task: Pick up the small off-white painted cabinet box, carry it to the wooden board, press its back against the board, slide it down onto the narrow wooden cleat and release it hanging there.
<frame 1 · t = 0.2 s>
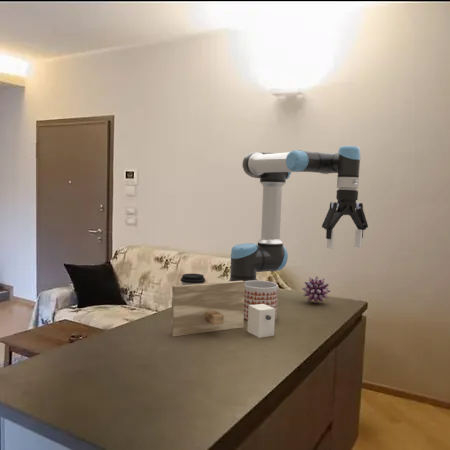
hand: (344, 247, 167), 28 cm above the kitchen island, fingers open, 13 cm apart
coffee cup: (191, 315, 172), on the kitchen island
wooden board: (208, 330, 153), on the kitchen island
planter: (258, 317, 172), on the kitchen island
purple spiky ball: (315, 303, 197), on the kitchen island
cabinet: (260, 333, 152), on the kitchen island
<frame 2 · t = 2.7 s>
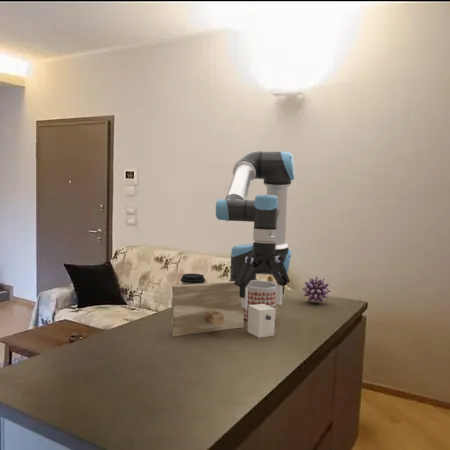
hand: (261, 305, 151), 9 cm above the kitchen island, fingers open, 13 cm apart
nothing on the kitchen island moved.
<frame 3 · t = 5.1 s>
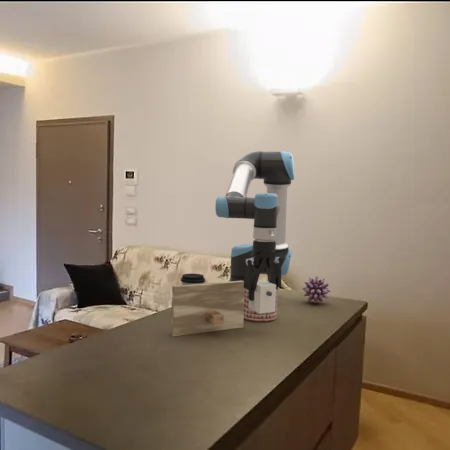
hand: (261, 308, 152), 8 cm above the kitchen island, fingers closed on cabinet, 6 cm apart
cabinet: (261, 309, 152), point 8 cm above the kitchen island, touching gripper
everything else where it was.
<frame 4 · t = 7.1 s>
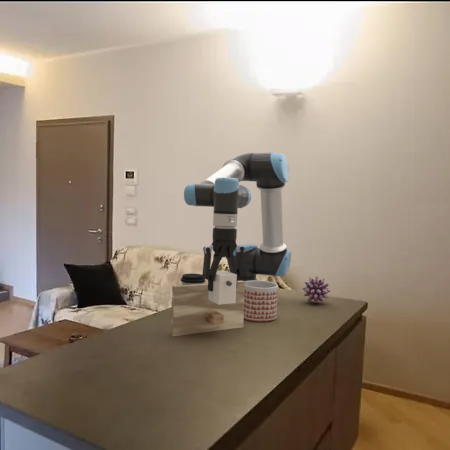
hand: (222, 300, 144), 13 cm above the kitchen island, fingers closed on cabinet, 6 cm apart
cabinet: (221, 301, 144), point 12 cm above the kitchen island, touching gripper
everything else where it was.
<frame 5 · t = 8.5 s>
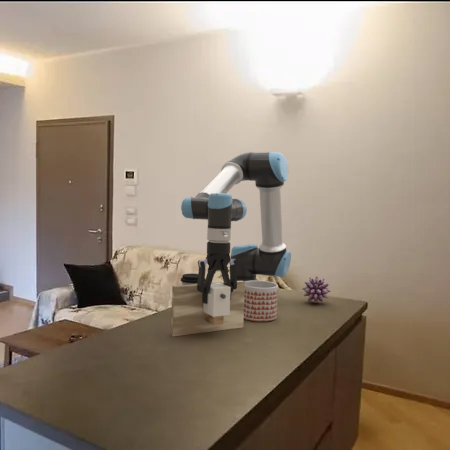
hand: (216, 311, 148), 8 cm above the kitchen island, fingers closed on cabinet, 6 cm apart
cabinet: (216, 312, 148), point 7 cm above the kitchen island, touching gripper
everything else where it was.
when the fingers open (7 cm above the kitchen island, at t = 9.1 s): cabinet stays where it is, resting on wooden board.
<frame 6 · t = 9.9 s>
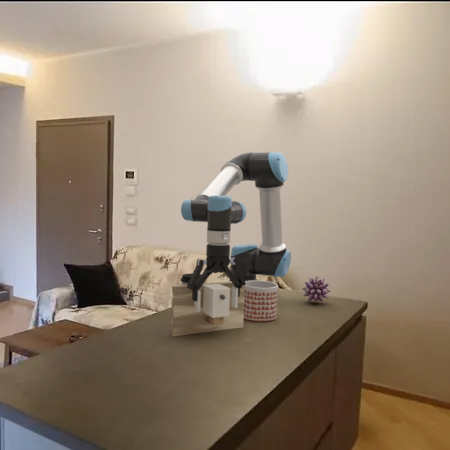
hand: (216, 308, 148), 9 cm above the kitchen island, fingers open, 13 cm apart
cabinet: (215, 314, 148), point 7 cm above the kitchen island, touching wooden board
everything else where it was.
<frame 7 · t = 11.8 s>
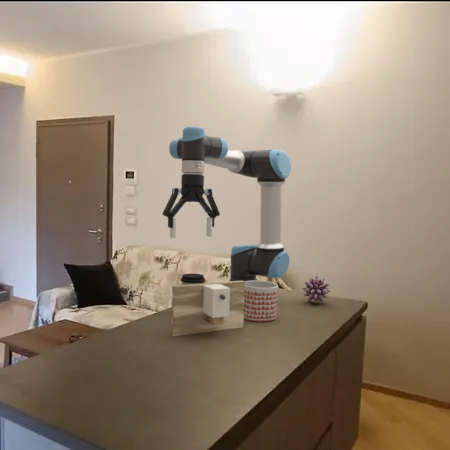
hand: (191, 237, 155), 31 cm above the kitchen island, fingers open, 13 cm apart
nothing on the kitchen island moved.
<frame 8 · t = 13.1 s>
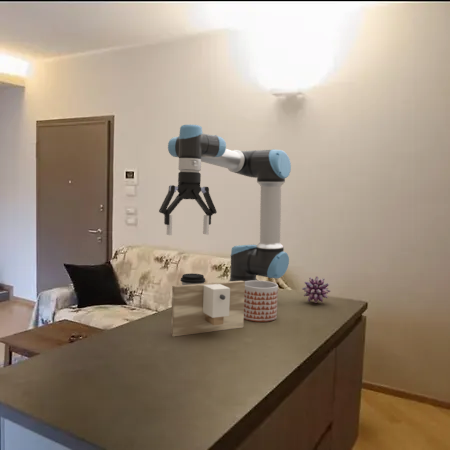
hand: (187, 234, 155), 32 cm above the kitchen island, fingers open, 13 cm apart
nothing on the kitchen island moved.
at the end: cabinet 0.3 cm from the target spot on the wooden board, point 7.0 cm above the wooden board's base; cabinet tilted 0°; the gripper is holding nothing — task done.
